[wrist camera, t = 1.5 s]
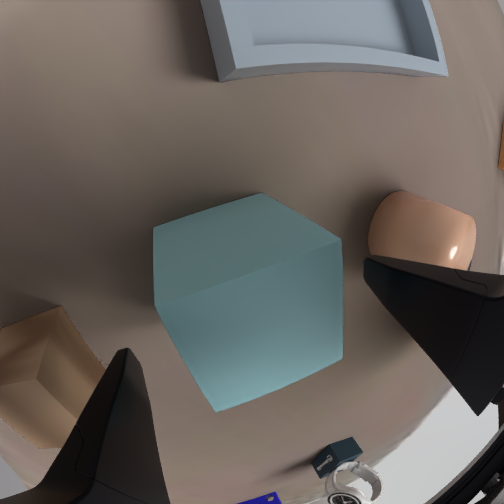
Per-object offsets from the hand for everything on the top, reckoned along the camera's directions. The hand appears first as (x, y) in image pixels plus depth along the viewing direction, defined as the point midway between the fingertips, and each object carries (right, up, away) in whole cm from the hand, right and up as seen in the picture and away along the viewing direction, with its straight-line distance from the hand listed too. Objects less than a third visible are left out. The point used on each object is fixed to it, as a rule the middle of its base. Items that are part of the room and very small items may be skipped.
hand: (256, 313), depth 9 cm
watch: (+11, -26, +21) cm, 35 cm away
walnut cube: (-11, -3, +3) cm, 12 cm away
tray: (+3, +16, -1) cm, 17 cm away
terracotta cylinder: (+9, +4, +7) cm, 12 cm away
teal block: (-2, +2, +4) cm, 5 cm away
